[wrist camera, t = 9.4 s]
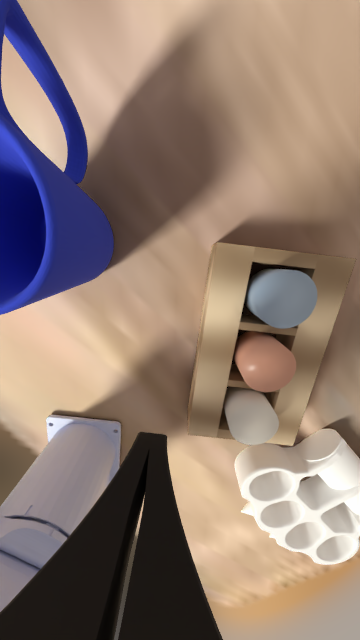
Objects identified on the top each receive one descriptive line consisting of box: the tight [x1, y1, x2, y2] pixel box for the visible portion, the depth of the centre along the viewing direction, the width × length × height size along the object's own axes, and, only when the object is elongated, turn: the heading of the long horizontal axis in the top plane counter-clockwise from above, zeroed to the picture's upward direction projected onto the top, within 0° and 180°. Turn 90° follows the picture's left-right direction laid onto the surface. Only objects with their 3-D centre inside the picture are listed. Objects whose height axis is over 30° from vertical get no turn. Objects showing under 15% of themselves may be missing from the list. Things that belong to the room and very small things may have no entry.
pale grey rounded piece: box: [223, 386, 279, 445], centre depth 18 cm, size 4×4×3 cm
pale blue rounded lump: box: [244, 269, 317, 329], centre depth 15 cm, size 4×4×3 cm
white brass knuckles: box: [235, 429, 360, 565], centre depth 23 cm, size 3×18×15 cm
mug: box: [0, 0, 114, 315], centre depth 12 cm, size 8×12×10 cm
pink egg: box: [233, 331, 296, 392], centre depth 17 cm, size 4×4×3 cm
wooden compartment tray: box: [187, 242, 356, 446], centre depth 18 cm, size 17×10×3 cm, turn 174°
